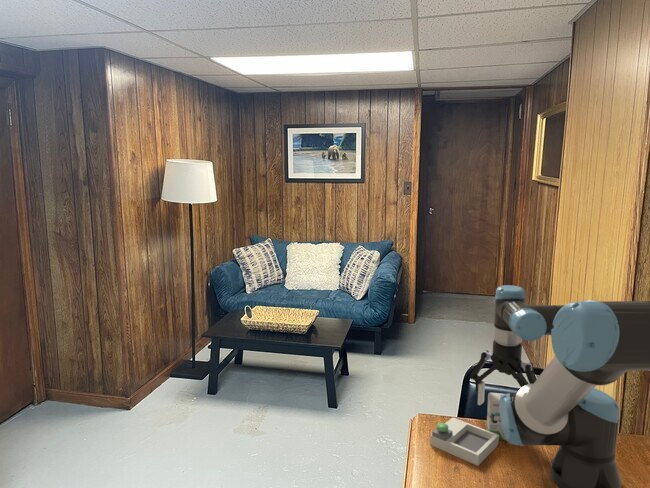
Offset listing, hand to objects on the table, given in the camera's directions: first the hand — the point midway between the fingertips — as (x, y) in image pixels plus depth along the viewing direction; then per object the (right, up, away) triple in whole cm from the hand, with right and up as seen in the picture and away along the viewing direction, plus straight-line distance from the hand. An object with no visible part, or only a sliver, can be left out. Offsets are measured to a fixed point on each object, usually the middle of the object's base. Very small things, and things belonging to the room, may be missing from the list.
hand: (503, 411), depth 136 cm
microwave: (-12, -8, -3) cm, 15 cm away
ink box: (0, -7, +1) cm, 7 cm away
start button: (-18, -5, -4) cm, 19 cm away
